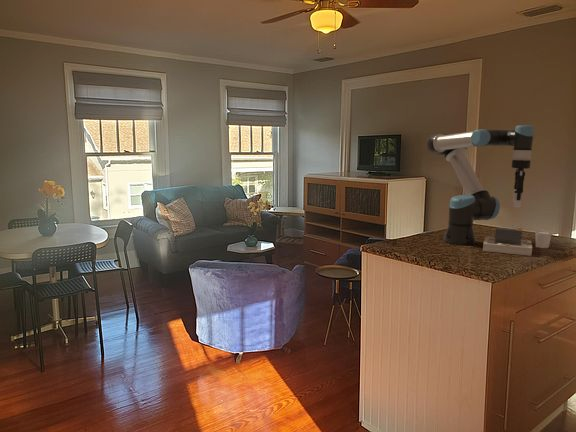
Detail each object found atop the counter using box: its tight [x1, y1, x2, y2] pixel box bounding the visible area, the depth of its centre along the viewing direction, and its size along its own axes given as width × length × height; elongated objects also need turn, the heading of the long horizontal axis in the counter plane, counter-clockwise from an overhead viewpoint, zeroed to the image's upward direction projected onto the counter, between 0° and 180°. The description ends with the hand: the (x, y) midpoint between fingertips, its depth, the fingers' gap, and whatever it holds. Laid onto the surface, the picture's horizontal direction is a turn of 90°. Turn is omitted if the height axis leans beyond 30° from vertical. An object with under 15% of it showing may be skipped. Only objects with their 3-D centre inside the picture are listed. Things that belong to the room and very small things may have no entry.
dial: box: [494, 227, 523, 246], centre depth 211 cm, size 12×12×8 cm
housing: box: [482, 236, 533, 257], centre depth 212 cm, size 20×18×4 cm
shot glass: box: [534, 231, 552, 249], centre depth 217 cm, size 7×7×7 cm
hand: (516, 205), depth 210 cm, fingers open, 13 cm apart
